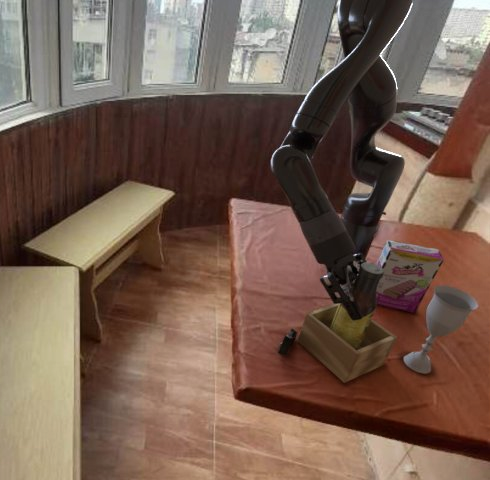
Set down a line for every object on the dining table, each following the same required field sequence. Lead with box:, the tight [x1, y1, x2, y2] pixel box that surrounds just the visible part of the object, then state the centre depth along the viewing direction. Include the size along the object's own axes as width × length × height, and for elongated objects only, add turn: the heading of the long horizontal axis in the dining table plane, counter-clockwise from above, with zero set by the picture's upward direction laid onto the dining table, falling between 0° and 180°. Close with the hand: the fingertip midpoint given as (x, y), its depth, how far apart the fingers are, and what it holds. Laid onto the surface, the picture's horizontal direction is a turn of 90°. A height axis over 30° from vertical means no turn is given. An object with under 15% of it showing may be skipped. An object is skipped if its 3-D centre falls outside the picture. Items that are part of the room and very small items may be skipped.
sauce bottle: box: [330, 261, 384, 350], centre depth 83 cm, size 7×6×20 cm
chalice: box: [403, 284, 479, 375], centre depth 83 cm, size 7×7×18 cm
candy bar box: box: [375, 239, 445, 314], centre depth 101 cm, size 11×5×16 cm, turn 71°
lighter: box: [277, 328, 299, 357], centre depth 89 cm, size 8×2×5 cm
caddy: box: [297, 303, 398, 384], centre depth 87 cm, size 12×13×8 cm
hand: (365, 311), depth 82 cm, fingers closed on sauce bottle, 6 cm apart
